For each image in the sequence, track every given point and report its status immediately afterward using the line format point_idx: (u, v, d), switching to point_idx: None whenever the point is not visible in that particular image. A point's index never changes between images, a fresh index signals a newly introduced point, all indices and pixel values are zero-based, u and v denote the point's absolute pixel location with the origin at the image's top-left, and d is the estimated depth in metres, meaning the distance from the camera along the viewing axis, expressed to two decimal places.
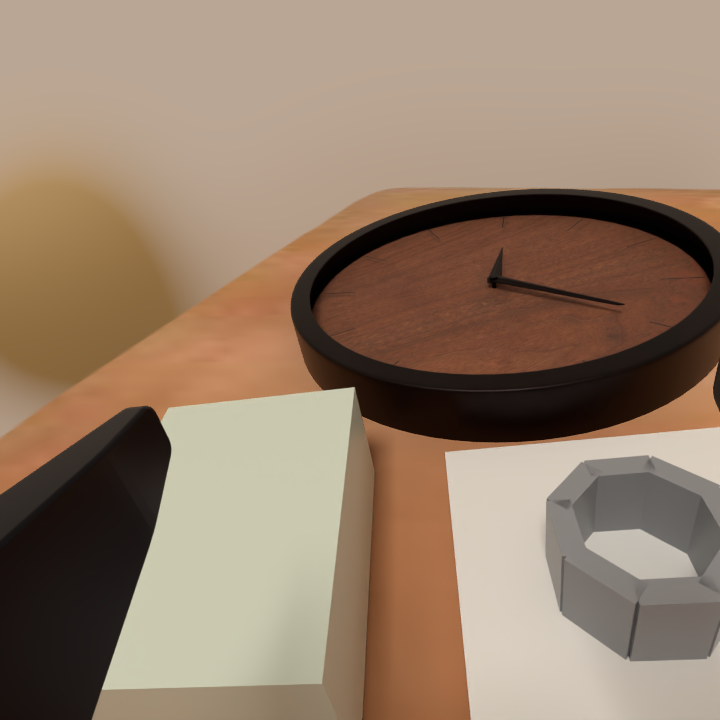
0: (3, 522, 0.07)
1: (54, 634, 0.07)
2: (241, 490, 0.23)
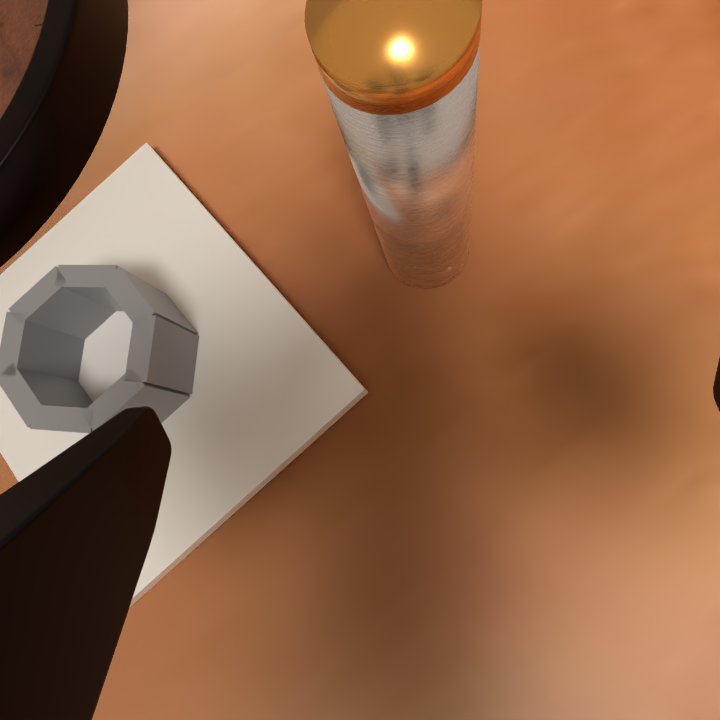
0: (3, 522, 0.07)
1: (54, 634, 0.07)
2: None
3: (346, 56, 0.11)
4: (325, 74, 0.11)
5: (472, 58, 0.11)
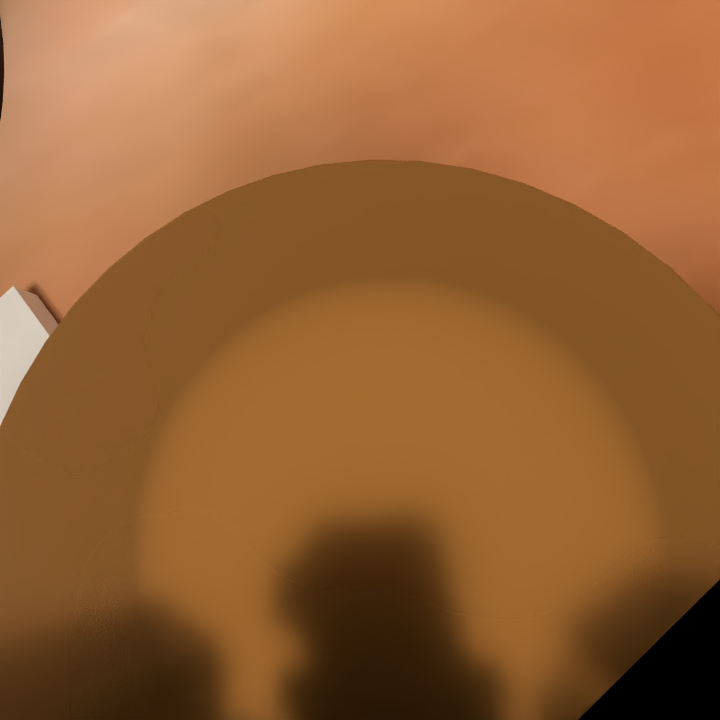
0: None
1: None
2: None
3: None
4: None
5: None
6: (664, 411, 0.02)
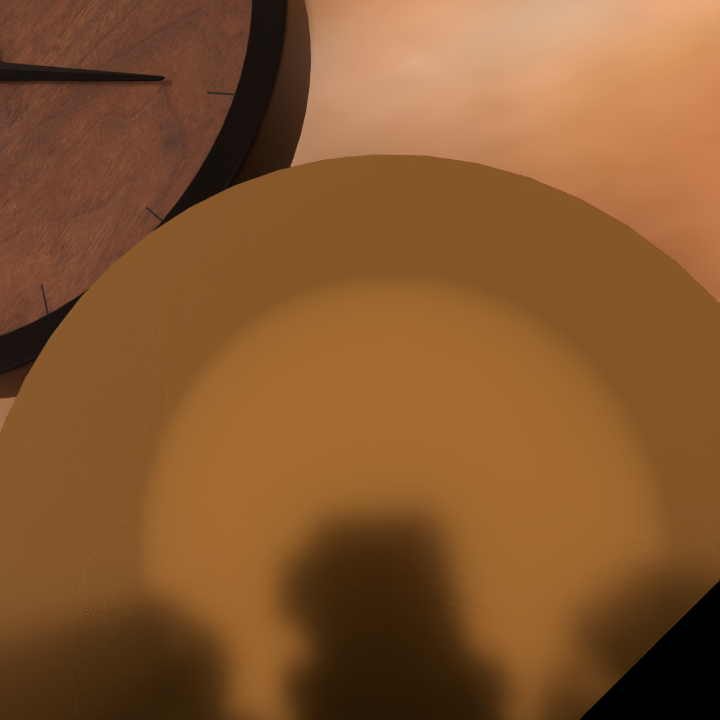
0: None
1: None
2: None
3: None
4: None
5: (711, 715, 0.03)
6: (672, 403, 0.02)
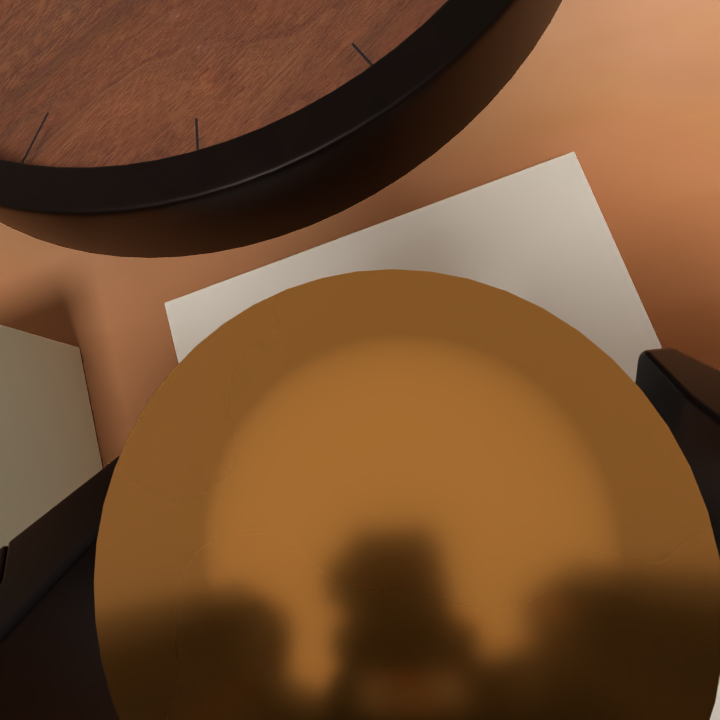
0: (89, 515, 0.06)
1: None
2: None
3: None
4: None
5: None
6: (604, 459, 0.03)
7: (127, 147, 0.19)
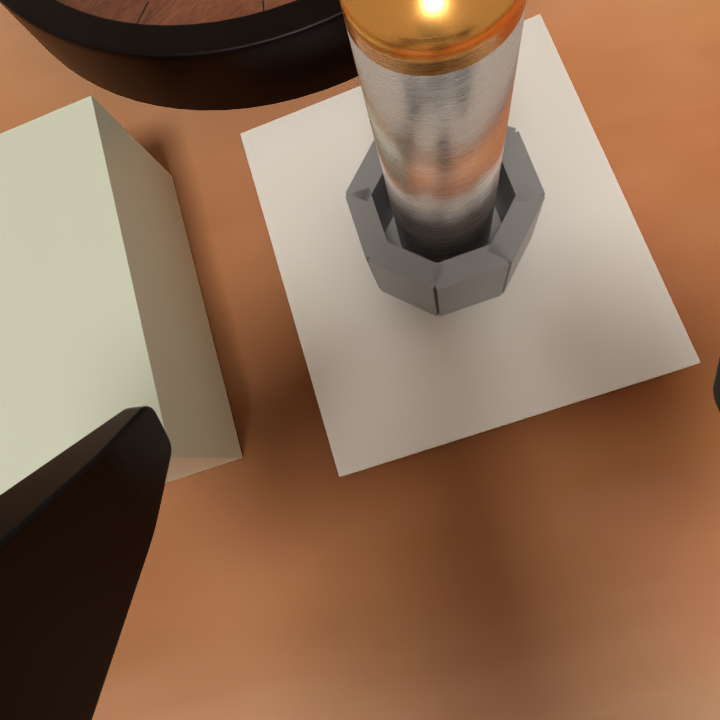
0: (3, 522, 0.07)
1: (54, 634, 0.07)
2: (13, 285, 0.20)
3: (381, 6, 0.10)
4: (355, 29, 0.10)
5: (521, 10, 0.10)
6: None
7: None
